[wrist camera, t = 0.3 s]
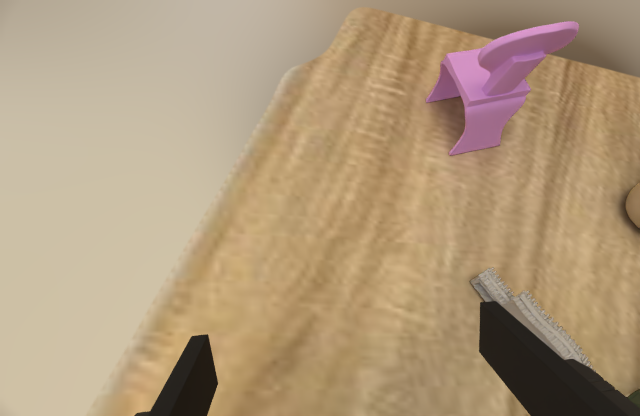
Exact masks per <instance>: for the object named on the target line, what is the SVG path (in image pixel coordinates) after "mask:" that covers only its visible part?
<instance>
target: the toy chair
mask: <svg viewBox="0 0 640 416" xmlns="http://www.w3.org/2000/svg"><path fill="white" fill-rule="evenodd" d="M578 29H579V25H578V23H576V22H561V23H556V24H550V25H544V26H539V27H534V28H529V29H526V30H522V31H518V32H515V33H511V34H509V35H506V36H503V37H500V38H498V39H496V40H494V41H492V42H490V43H489V44H487V45H486V46H485V47H484V48H480V49H475V50H470V51H461V52H455V53H449V54H446V56H445V59H444V60H443V61H441V65H440V75H439V78H438V80H437V82H436V84H435V86H434V88H433V90H432V91H431V93H430V94H429V96H428V97H427V99H426V102H433V101H438V100H443V99H448V98H454V97H459V96H461V98H462V100H463V103H464V107H465V123H466V124H465V130H464V133H463V134H462V136H461V138H460V139H459V141H458V142H457V143H456V145H455V146H454V147H453V148H452V149H451V151H450V152H449V155H455V154H460V153H465V152H470V151H475V150H480V149H485V148H489V147H494V146H499V145H500V139H501V133H502V130H503V127H504V125H505V124H506V123H507V121H508V120H509V119H510V118H511V117H512V116H513V115H514V114H515V113H516V112H517V111H518V110H519V108H520V107H521V106H522V105H523V104H524V102H525V99H526V95H527V94H528V93H529V92H530V90H531V88H530V87H529V85H528V83H527V82H526V80H525V79H524V78H525V77H526V76H527V75H528V74H529V73H530V72H531V71H532V70H533V69H534V68H535V67H536V66H537V65H538V64H539V63H540V62H541V61H542V60H543V59H544V58H545V57H546V54H549V53H552V52H555V51H557V50H559V49H561V48H563V47H565V46H566V45H567V44H569V43H570V42H571V41H572V40H573V39H574V37H576V35H577V33H578Z"/></svg>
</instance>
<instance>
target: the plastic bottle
mask: <svg viewBox="0 0 640 416" xmlns="http://www.w3.org/2000/svg"><path fill="white" fill-rule="evenodd" d="M626 211H627V214H628V216H629V218H630V219H631V221H632V222H633V223H634V224H635V225H636V226H637V227H638V228H640V183H639V184H638V185H636V186H635V187H634V188H633V189H631V191H630V192H629V194H628V197H627V200H626Z"/></svg>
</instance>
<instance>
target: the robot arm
mask: <svg viewBox="0 0 640 416" xmlns="http://www.w3.org/2000/svg"><path fill="white" fill-rule="evenodd" d="M479 352H480V353H481V355H482V356H483V357H484V358H485V360H486V361H487V362H488V363H489V364H490V366H491V367H492V368H493V369H494V371H495V372H496V373H497V374H498V376H499V377H500V378H501V379H502V381H503V382H504V383H505V384H506V385H507V387H508V388H509V389H510V390H511V392H512V393H513V394H514V395H515V397H516V398H517V399H518V400H519V402H520V403H521V404H522V405H523V407H524V408H525V409H526V410H527V411H528V413H529V414H530V415H531V416H640V408H639V407H638V406H636V405H635V404H634V403H633V402H631V401H630V400H629V399H628V398H627V397H625V396H624V395H623V394H622V393H620V392H619V391H618V390H615V388H614V387H613V386H612V385H611V384H609V383H608V382H607V381H604V380H603V378H602V377H601V376H600V375H598V374H597V373H596V372H595V371H593V370H592V369H591V368H590V367H588V366H586V365H584V364H582V363H580V362H578V361H577V360H575V359H566V360H564V359H562V358H561V357H560V356H559V355H558V354H557V353H556V352H554V351H553V350H552V349H551V348H550V347H549V346H547V345H546V344H545V343H544V342H543V341H542V340H541V339H539V338H538V337H537V336H536V335H535V334H534V333H532V332H531V331H530V330H529V329H528V328H527V327H526V326H524V325H523V324H522V323H521V322H520V321H519V320H517V319H516V318H515V317H514V316H513V315H512V314H511V313H509V312H508V311H507V310H506V309H505V308H504V307H502V306H501V305H500V304H499V303H498V302H497V301H489V302H481V303H480V340H479ZM217 385H218V381H217V376H216V371H215V366H214V361H213V356H212V352H211V347H210V342H209V337H208V334H207V335H198V336H192V337H191V338H190V340H189V342H188V344H187V346H186V348H185V349H184V351H183V353H182V355H181V357H180V358H179V360H178V362H177V364H176V366H175V367H174V369H173V371H172V373H171V375H170V377H169V378H168V380H167V382H166V384H165V386H164V387H163V389H162V391H161V393H160V395H159V397H158V398H157V400H156V402H155V404H154V406H153V407H152V409H151V411H149V412H141V413H137V414H136V415H135V416H207V414H208V411H209V408H210V405H211V402H212V399H213V397H214V394H215V391H216V388H217Z"/></svg>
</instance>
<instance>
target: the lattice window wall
mask: <svg viewBox="0 0 640 416" xmlns="http://www.w3.org/2000/svg"><path fill="white" fill-rule="evenodd" d="M493 269H494V267H492V268H491V269H490V268H488V269H487V270H485V271H484V272H482V273H481V274H480V275H478V276H477V277H475V278H474V279H472V280H471V281H470V282H471V284H472V285H473V286H474V288H475V289H476V290H477V291H478V293H479V294H480V295H481V297H482V298H483V299H484V300H485V302H489V301H497V302H498V303H499V304H500V305H501V306H502V307H504V308H505V309H506V310H507V311H508V312H509V313H511V314H512V315H513V316H514V317H515V318H516V319H517V320H519V321H520V322H521V323H522V324H523V325H524V326H526V327H527V328H528V329H529V330H530V331H531V332H532V333H534V334H535V335H536V336H537V337H538V338H539V339H541V340H542V341H543V342H544V343H545V344H546V345H547V346H549V347H550V348H551V349H552V350H553V351H554V352H556V353H557V354H558V355H559V356H560V357H561V358H562V359H564V360H566V359H575V360H577V361H578V362H580V363H582V364H584V365H586V366H588V365H589V364H590V361H587V360H588V359H589V358H588V357H586V358H585V356H586V355H585V354H582V353H581V352H582V349H581V348H580V345H576V344H575V340H572V339H571V338H570V335H567V334H566V331H565V330H562V328H563V327H562V326H560V327H558V326H557V325H558V322H556V323H553V322H552V321H553V319H554V318H551V319H549V318H548V317H549V316H550V315H549V314H547V315H545V314H544V312H545V310H543V311H541V310H540V308H541V306H539V307H537V306H536V305H537V304H538V302H535V303H533V301H535V298H533V299H530V297H531V296H532V294H530V295H528V293H529V292H530V291H529V290H527V291H522V292H521V293H520V294H518V295H517V296H516V297H514V296H513V295H512V294H513V293H514V292H513V291H512V292H511V293H510V292H509V291H510V290H511V289H510V288H509V289H508V290H507V289H506V287H507V286H508V285H505V286H504V285H503V284H504V281H503V282H500V280H501V278H499V279H498V278H497V277H498V276H499V275H495V273H496V271H494V272H493V271H492V270H493ZM579 348H580V349H579ZM586 361H587V362H586ZM588 367H590V368H591V369H592V367H593V366H592V365H590V366H588ZM593 371H595V372H596V370H594V369H593Z"/></svg>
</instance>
